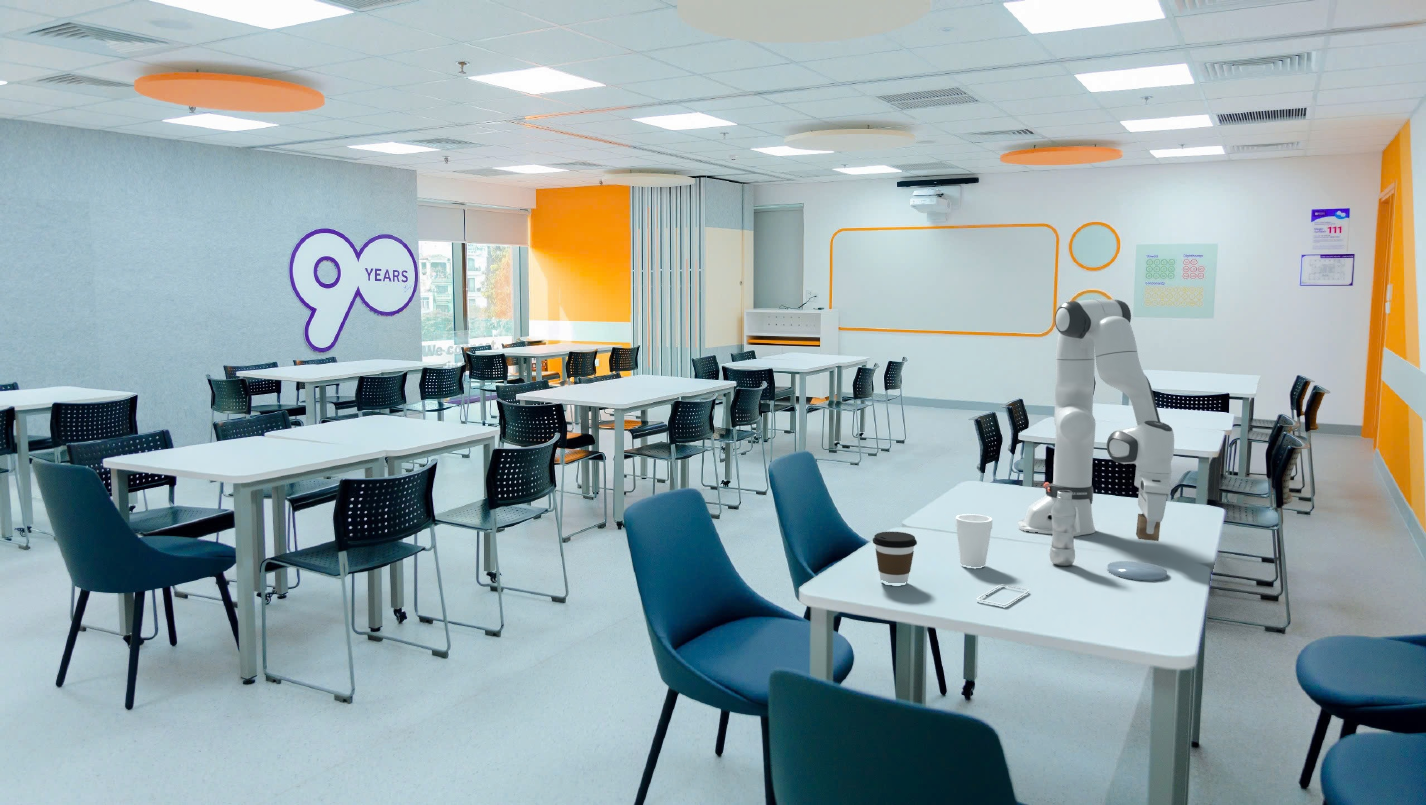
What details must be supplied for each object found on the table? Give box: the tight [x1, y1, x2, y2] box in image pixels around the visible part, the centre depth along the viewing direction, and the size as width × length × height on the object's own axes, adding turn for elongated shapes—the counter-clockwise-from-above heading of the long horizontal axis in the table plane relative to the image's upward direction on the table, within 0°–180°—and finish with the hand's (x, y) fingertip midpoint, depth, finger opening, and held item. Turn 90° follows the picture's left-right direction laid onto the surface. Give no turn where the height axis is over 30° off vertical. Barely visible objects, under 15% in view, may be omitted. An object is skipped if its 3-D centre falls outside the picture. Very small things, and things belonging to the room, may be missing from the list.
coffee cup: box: [872, 531, 918, 583], centre depth 232 cm, size 11×11×12 cm
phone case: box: [975, 584, 1030, 606], centre depth 221 cm, size 7×1×15 cm
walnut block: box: [1135, 513, 1161, 542], centre depth 255 cm, size 5×5×6 cm
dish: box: [1107, 560, 1168, 582], centre depth 240 cm, size 14×14×1 cm
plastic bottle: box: [1048, 490, 1077, 567], centre depth 247 cm, size 6×7×20 cm
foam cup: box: [955, 513, 993, 567], centre depth 247 cm, size 10×9×13 cm
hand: (1147, 530), depth 255 cm, fingers closed on walnut block, 5 cm apart
